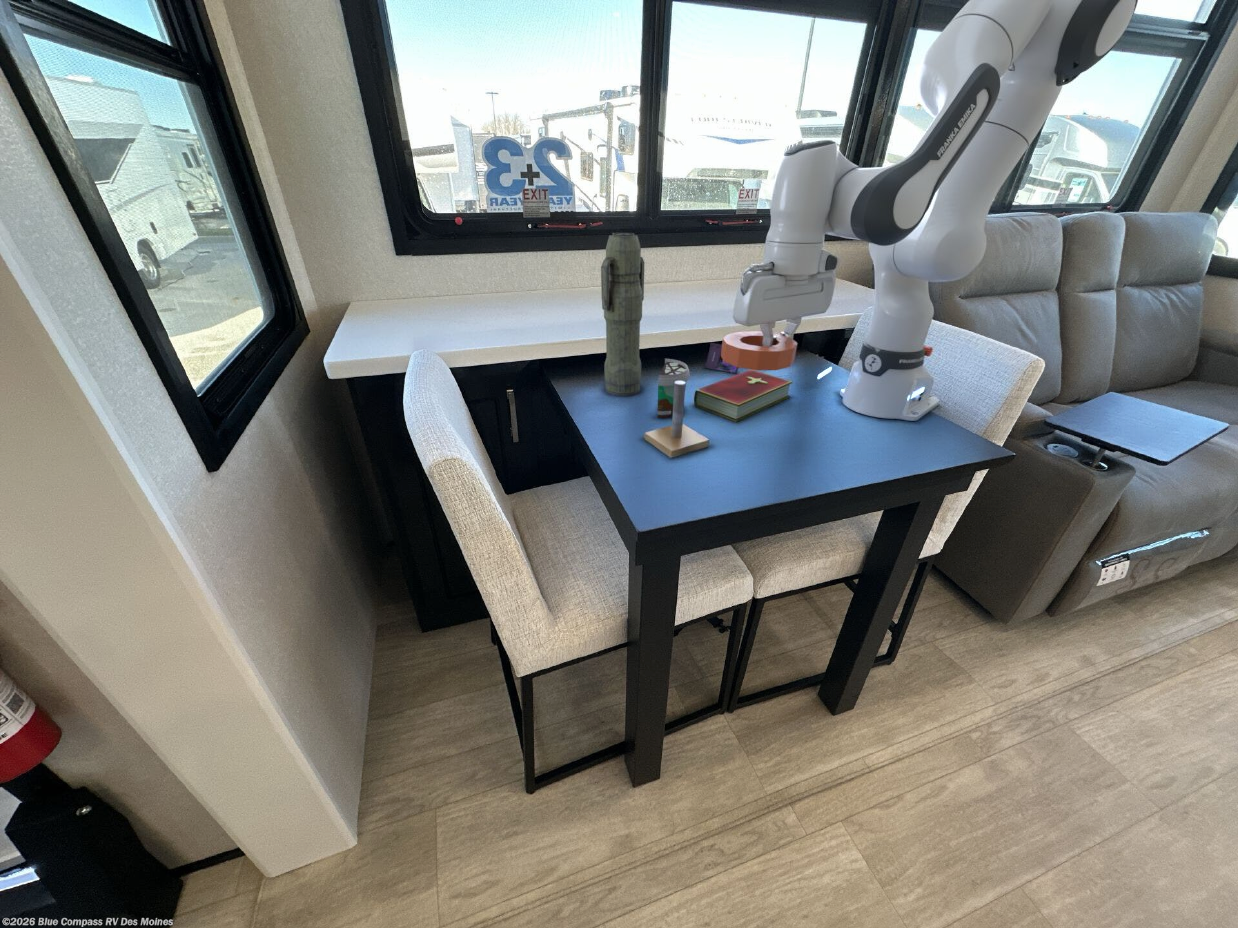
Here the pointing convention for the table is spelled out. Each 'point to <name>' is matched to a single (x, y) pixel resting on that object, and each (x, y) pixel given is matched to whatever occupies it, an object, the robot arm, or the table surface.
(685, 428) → the stand
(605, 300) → the grey-green tall cylinder
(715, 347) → the purple rectangular box
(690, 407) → the table surface
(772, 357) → the ring
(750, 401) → the hardcover book
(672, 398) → the food container
